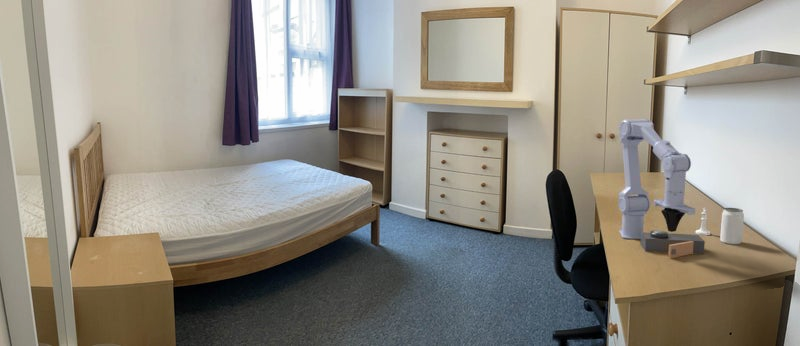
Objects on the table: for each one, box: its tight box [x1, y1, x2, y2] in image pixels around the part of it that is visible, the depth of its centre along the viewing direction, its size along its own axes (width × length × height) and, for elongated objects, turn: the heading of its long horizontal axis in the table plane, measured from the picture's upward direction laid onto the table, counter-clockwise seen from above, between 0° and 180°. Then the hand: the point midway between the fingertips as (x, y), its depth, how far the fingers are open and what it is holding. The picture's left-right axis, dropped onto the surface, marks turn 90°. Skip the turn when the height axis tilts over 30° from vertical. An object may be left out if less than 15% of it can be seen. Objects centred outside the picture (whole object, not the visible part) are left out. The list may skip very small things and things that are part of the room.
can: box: [719, 207, 745, 246], centre depth 177 cm, size 6×6×12 cm
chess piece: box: [695, 207, 711, 236], centre depth 188 cm, size 5×5×10 cm
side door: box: [667, 241, 694, 259], centre depth 165 cm, size 1×10×4 cm, turn 110°
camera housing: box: [640, 230, 706, 255], centre depth 172 cm, size 8×18×6 cm, turn 75°
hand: (671, 231), depth 165 cm, fingers closed
